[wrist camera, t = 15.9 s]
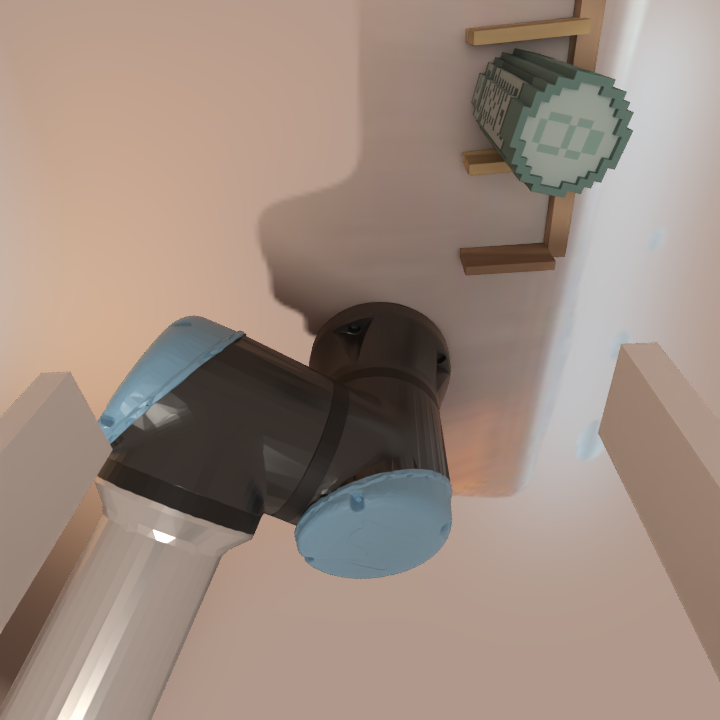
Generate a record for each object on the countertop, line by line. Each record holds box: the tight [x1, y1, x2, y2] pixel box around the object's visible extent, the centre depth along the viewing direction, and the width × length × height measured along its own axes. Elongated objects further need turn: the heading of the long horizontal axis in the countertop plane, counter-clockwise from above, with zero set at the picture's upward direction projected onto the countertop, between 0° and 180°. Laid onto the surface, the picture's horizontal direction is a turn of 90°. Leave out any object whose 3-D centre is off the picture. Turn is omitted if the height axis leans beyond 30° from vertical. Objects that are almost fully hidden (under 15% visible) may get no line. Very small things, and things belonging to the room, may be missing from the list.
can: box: [472, 49, 633, 198], centre depth 33 cm, size 6×6×15 cm
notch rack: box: [460, 0, 606, 275], centre depth 37 cm, size 27×9×4 cm, turn 5°
